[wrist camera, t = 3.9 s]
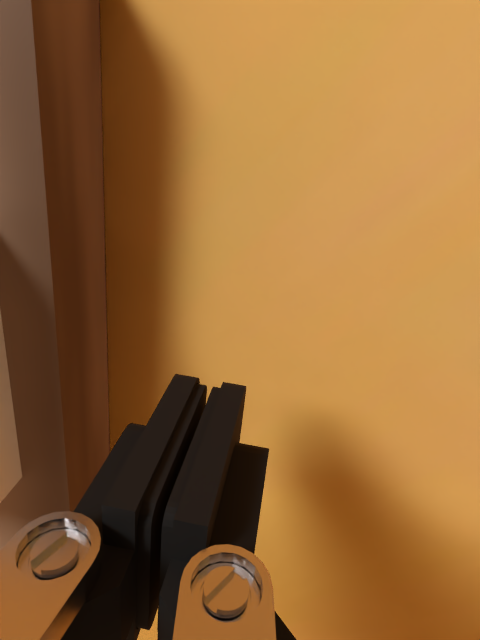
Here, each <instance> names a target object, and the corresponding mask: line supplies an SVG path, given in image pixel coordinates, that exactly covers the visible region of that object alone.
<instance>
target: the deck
mask: <svg viewBox="0 0 480 640" xmlns="http://www.w3.org/2000/svg"><path fill="white" fill-rule="evenodd" d="M0 311H1V318H2V326H3V334H4V341H5V349H6V357H7V364H8V372H9V379H10V387H11V395H12V402H13V410H14V418H15V425H16V433H17V441H18V448H19V456H20V463H21V471H22V478H21V479H20V480H19V481H18V483H17V484H16V485H15V486H14V487H13V489H12V490H11V491H10V492H9V493H8V494H7V496H6V497H5V498H4V499H3V500H2V502H1V503H0V550H1V549H2V548H3V547H4V546H5V545H6V544H7V543H8V542H9V541H10V540H11V539H12V537H13V536H14V535H15V534H16V533H17V532H18V531H20V530H21V529H22V528H23V527H24V526H25V525H27V524H28V523H29V522H31V521H33V520H35V519H37V518H39V517H41V516H43V515H47V514H50V513H54V512H63V511H71V512H73V511H74V510H75V508H76V507H77V505H78V503H79V502H80V500H81V499H82V497H83V495H84V494H85V492H86V491H87V489H88V487H89V486H90V484H91V483H92V481H93V479H94V478H95V476H96V475H97V473H98V472H99V470H100V468H101V467H102V465H103V464H104V462H105V460H106V459H107V457H108V456H109V454H110V443H109V399H108V356H107V313H106V270H105V227H104V183H103V140H102V97H101V54H100V10H99V0H0Z"/></svg>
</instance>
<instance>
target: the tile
mask: <svg viewBox="0 0 480 640" xmlns="http://www.w3.org/2000/svg"><path fill="white" fill-rule="evenodd" d="M21 478H22V471H21V463H20V456H19V448H18V441H17V433H16V425H15V418H14V410H13V402H12V395H11V387H10V379H9V372H8V364H7V357H6V349H5V341H4V334H3V326H2V318H1V311H0V503H1V502H2V500H3V499H4V498H5V497H6V496H7V494H8V493H9V492H10V491H11V490H12V489H13V487H14V486H15V485H16V484H17V483H18V481H19V480H20V479H21Z"/></svg>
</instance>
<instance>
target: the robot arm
mask: <svg viewBox="0 0 480 640" xmlns="http://www.w3.org/2000/svg"><path fill="white" fill-rule="evenodd" d="M199 383H200V382H199V378H196V377H190V376H185V375H179V374H175V376H174V377H173V379H172V381H171V382H170V384H169V386H168V388H167V389H166V391H165V393H164V395H163V397H162V398H161V400H160V402H159V404H158V405H157V407H156V409H155V411H154V413H153V414H152V416H151V418H150V420H149V421H148V423H147V425H146V426H144V425H139V424H133V423H131V424H129V425H128V426H127V427H126V429H125V430H124V432H123V433H122V435H121V436H120V438H119V440H118V441H117V443H116V444H115V446H114V448H113V449H112V451H111V452H110V454H109V456H108V457H107V459H106V460H105V462H104V464H103V465H102V467H101V468H100V470H99V472H98V473H97V475H96V476H95V478H94V479H93V481H92V483H91V484H90V486H89V487H88V489H87V491H86V492H85V494H84V495H83V497H82V499H81V500H80V502H79V503H78V505H77V507H76V508H75V510H74V511H73V512H71V511H63V512H54V513H50V514H47V515H43V516H41V517H39V518H37V519H35V520H33V521H31V522H29V523H28V524H27V525H25V526H24V527H23V528H22V529H21V530H20V531H18V532H17V533H16V534H15V535H14V536H13V537H12V539H11V540H10V541H9V542H8V543H7V544H6V545H5V546H4V547H3V548H2V549H1V550H0V640H137V638H138V635H139V632H140V629H141V628H143V629H147V630H150V628H151V626H152V624H153V621H154V618H155V615H156V612H157V609H158V640H296V639H295V637H294V636H293V635H292V633H291V632H290V631H289V629H288V628H287V627H286V625H285V624H284V623H283V621H282V620H281V619H280V617H279V616H278V615H277V613H276V612H275V611H274V597H273V586H272V582H271V577H270V574H269V572H268V570H267V569H266V567H265V565H264V564H263V562H262V561H261V560H260V559H259V558H258V557H256V556H255V555H254V551H255V544H256V537H257V530H258V523H259V516H260V509H261V502H262V495H263V488H264V481H265V474H266V466H267V459H268V452H269V449H268V448H263V447H257V446H252V445H247V444H241V443H239V441H240V433H241V425H242V418H243V410H244V402H245V394H246V386H242V385H237V384H231V383H225V382H223V384H222V386H221V388H218V387H213V388H212V390H211V393H210V395H209V398H208V401H207V403H206V394H207V386H206V385H200V384H199ZM158 605H159V606H158Z"/></svg>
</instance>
